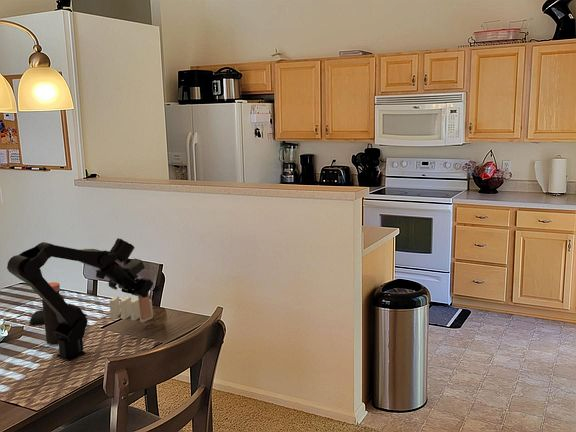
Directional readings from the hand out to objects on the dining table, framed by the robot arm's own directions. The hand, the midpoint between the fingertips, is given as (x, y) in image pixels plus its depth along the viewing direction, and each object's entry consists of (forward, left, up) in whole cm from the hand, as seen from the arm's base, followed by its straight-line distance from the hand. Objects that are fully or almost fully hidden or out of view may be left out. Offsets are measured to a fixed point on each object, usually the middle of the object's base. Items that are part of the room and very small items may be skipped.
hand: (145, 295), depth 202 cm
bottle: (-25, +17, -11) cm, 32 cm away
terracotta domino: (0, 0, -8) cm, 8 cm away
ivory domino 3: (+3, +9, -11) cm, 15 cm away
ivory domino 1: (0, +17, -11) cm, 21 cm away
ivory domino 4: (+4, +4, -11) cm, 13 cm away
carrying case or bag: (-14, +35, -12) cm, 40 cm away
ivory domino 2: (+2, +13, -11) cm, 17 cm away
